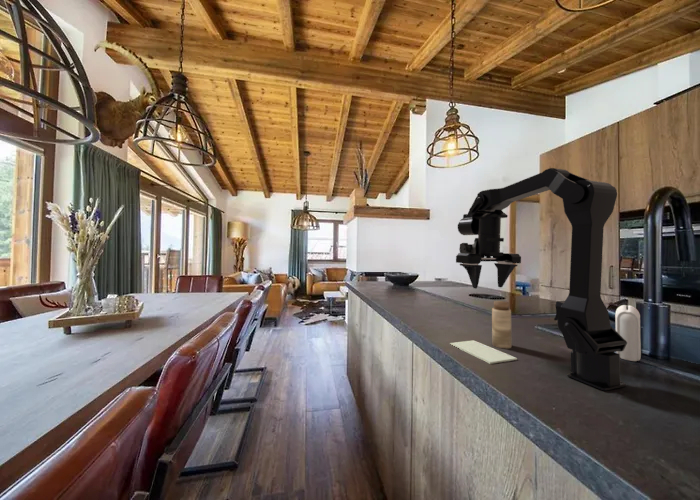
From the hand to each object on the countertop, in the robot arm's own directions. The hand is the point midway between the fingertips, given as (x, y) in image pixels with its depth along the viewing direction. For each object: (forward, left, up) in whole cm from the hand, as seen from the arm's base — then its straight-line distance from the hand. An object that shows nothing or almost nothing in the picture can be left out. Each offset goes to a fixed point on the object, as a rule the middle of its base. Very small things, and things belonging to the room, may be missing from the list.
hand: (487, 287), depth 78 cm
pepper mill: (-5, 0, -15) cm, 16 cm away
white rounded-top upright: (-20, -24, -16) cm, 35 cm away
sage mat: (-7, +9, -15) cm, 19 cm away
